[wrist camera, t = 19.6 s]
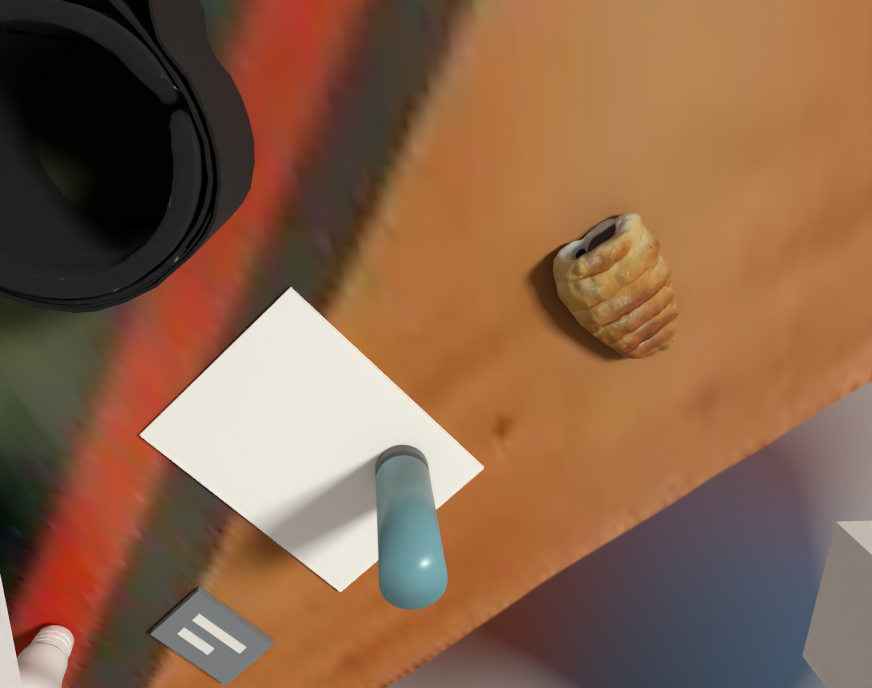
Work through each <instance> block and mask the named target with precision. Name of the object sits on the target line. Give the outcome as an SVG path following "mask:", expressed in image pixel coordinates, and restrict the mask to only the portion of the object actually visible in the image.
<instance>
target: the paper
mask: <svg viewBox="0 0 872 688" xmlns="http://www.w3.org/2000/svg"><path fill="white" fill-rule="evenodd" d="M139 436H141V437H142V438H143V439H145V440H146V441H147V442H148V443H150V444H151V445H152V446H154V447H155V448H156V449H157V450H159V451H160V452H161V453H163V454H164V455H165V456H166V457H168V458H169V459H170V460H172V461H173V462H174V463H175V464H177V465H178V466H179V467H180V468H182V469H183V470H184V471H186V472H187V473H188V474H189V475H191V476H192V477H193V478H195V479H196V480H197V481H198V482H200V483H201V484H202V485H204V486H205V487H206V488H207V489H209V490H210V491H211V492H213V493H214V494H215V495H216V496H218V497H219V498H220V499H221V500H223V501H224V502H225V503H227V504H228V505H229V506H230V507H232V508H233V509H234V510H236V511H237V512H238V513H239V514H241V515H242V516H243V517H245V518H246V519H247V520H248V521H250V522H251V523H252V524H254V525H255V526H256V527H257V528H259V529H260V530H261V531H262V532H264V533H265V534H266V535H268V536H269V537H270V538H271V539H273V540H274V541H275V542H277V543H278V544H279V545H280V546H282V547H283V548H284V549H286V550H287V551H288V552H289V553H291V554H292V555H293V556H295V557H296V558H297V559H298V560H300V561H301V562H302V563H303V564H305V565H306V566H307V567H309V568H310V569H311V570H312V571H314V572H315V573H316V574H318V575H319V576H320V577H321V578H323V579H324V580H325V581H327V582H328V583H329V584H330V585H332V586H333V587H334V588H336V589H337V590H338V591H339V592H342V591H343V590H344V589H345V588H346V587H347V586H348V585H350V584H351V583H352V582H353V581H354V580H355V579H357V578H358V577H359V576H360V575H361V574H362V573H364V572H365V571H366V570H367V569H368V568H369V567H370V566H372V565H373V564H374V563H375V562H376V561H377V560H378V534H377V506H376V477H375V466H376V462H377V460H378V458H379V456H380V455H381V454H382V453H383V452H384V451H385V450H387V449H388V448H390V447H393V446H396V445H409V446H413V447H415V448H417V449H418V450H420V451H421V452H422V453H423V454H424V456H425V457H426V459H427V462H428V467H429V473H430V479H431V485H432V490H433V496H434V502H435V508H436V509H438V508H439V507H440V506H441V505H442V504H443V503H445V502H446V501H447V500H448V499H449V498H450V497H451V496H453V495H454V494H455V493H456V492H457V491H458V490H460V489H461V488H462V487H463V486H464V485H465V484H467V483H468V482H469V481H470V480H471V479H472V478H473V477H475V476H476V475H477V474H478V473H479V472H480V471H482V470H483V469H484V466H483V465H482V464H481V463H479V462H478V461H477V460H476V459H475V458H474V457H473V456H472V455H471V454H470V453H469V452H468V451H467V450H465V449H464V448H463V447H462V446H461V445H460V444H459V443H458V442H457V441H456V440H455V439H454V438H453V437H452V436H450V435H449V434H448V433H447V432H446V431H445V430H444V429H443V428H442V427H441V426H440V425H439V424H438V423H436V422H435V421H434V420H433V419H432V418H431V417H430V416H429V415H428V414H427V413H426V412H425V411H424V410H423V409H421V408H420V407H419V406H418V405H417V404H416V403H415V402H414V401H413V400H412V399H411V398H410V397H409V396H407V395H406V394H405V393H404V392H403V391H402V390H401V389H400V388H399V387H398V386H397V385H396V384H395V383H394V382H392V381H391V380H390V379H389V378H388V377H387V376H386V375H385V374H384V373H383V372H382V371H381V370H380V369H378V368H377V367H376V366H375V365H374V364H373V363H372V362H371V361H370V360H369V359H368V358H367V357H366V356H365V355H363V354H362V353H361V352H360V351H359V350H358V349H357V348H356V347H355V346H354V345H353V344H352V343H351V342H349V341H348V340H347V339H346V338H345V337H344V336H343V335H342V334H341V333H340V332H339V331H338V330H337V329H336V328H334V327H333V326H332V325H331V324H330V323H329V322H328V321H327V320H326V319H325V318H324V317H323V316H322V315H320V314H319V313H318V312H317V311H316V310H315V309H314V308H313V307H312V306H311V305H310V304H309V303H308V302H307V301H305V300H304V299H303V298H302V297H301V296H300V295H299V294H298V293H297V292H296V291H295V290H294V289H293V288H291V287H289V288H288V289H287V290H286V291H285V292H284V293H283V294H282V295H281V296H280V297H279V298H278V299H277V300H276V301H275V302H274V303H273V304H272V305H271V306H270V307H269V308H268V309H267V310H266V311H265V312H264V313H263V314H262V315H261V316H260V317H259V318H258V319H257V320H256V321H255V322H254V323H253V324H252V325H251V326H250V327H249V328H248V329H247V330H245V331H244V332H243V333H242V334H241V335H240V336H239V337H238V338H237V339H236V340H235V341H234V342H233V343H232V344H231V345H230V346H229V347H228V348H227V349H226V350H225V351H224V352H223V353H222V354H221V355H220V356H219V357H218V358H217V359H216V360H215V361H214V362H213V363H212V364H211V365H210V366H209V367H208V368H207V369H206V370H205V371H204V372H203V373H202V374H201V375H200V376H199V377H197V378H196V379H195V380H194V381H193V382H192V383H191V384H190V385H189V386H188V387H187V388H186V389H185V390H184V391H183V392H182V393H181V394H180V395H179V396H178V397H177V398H176V399H175V400H174V401H173V402H172V403H171V404H170V405H169V406H168V407H167V408H166V409H165V410H164V411H163V412H162V413H161V414H160V415H159V416H158V417H157V418H156V419H155V420H154V421H153V422H152V423H151V424H149V425H148V426H147V427H146V428H145V429H144V430H143V431H142V432H141V433H140V435H139Z"/></svg>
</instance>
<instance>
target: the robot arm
mask: <svg viewBox="0 0 872 688" xmlns="http://www.w3.org/2000/svg"><path fill="white" fill-rule="evenodd" d="M803 657H804V658H805V660H806V661H807V662H808V664H809V665H810V666H811V667H812V669H813V670H814V672H815V673H816V674H817V675H818V677H819V678H820V679H821V681H822V682H823V683H824V685H825V686H826V687H827V688H872V521H847V522H836V525H835V529H834V533H833V537H832V541H831V545H830V549H829V553H828V557H827V561H826V564H825V569H824V573H823V576H822V581H821V584H820V589H819V592H818V596H817V600H816V604H815V608H814V612H813V616H812V620H811V625H810V628H809V633H808V637H807V640H806V644H805V648H804V652H803ZM0 688H23V687H22V682H21V677H20V672H19V667H18V662H17V657H16V652H15V647H14V642H13V637H12V632H11V627H10V622H9V617H8V612H7V607H6V602H5V597H4V592H3V587H2V582H1V577H0Z"/></svg>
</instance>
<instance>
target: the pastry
mask: <svg viewBox="0 0 872 688" xmlns="http://www.w3.org/2000/svg"><path fill="white" fill-rule="evenodd" d="M553 274H554V279H555V282H556V288H557V294H558V296H559V298H560V300H561V301H562V302H563V303H564V304H565V305H566V306H567V307H568V309H569V310H570V312H571V313H572V314H573V315H574V317H575V318H576V320H577V321H578V323H579V324H580V325H581V326H582V327H584V328H585V329H586V330H587V331H588V332H590V333H591V334H592V335H593V336H595V337H596V338H598V339H599V340H600V341H602V342H603V343H604V344H606V345H608V346H610V347H611V348H612V349H614V350H615V351H617V352H618V353H619V354H620V355H621V356H624V357H627V358H632V359H637V358H645V357H648V356H651V355H653V354H655V353H657V352H659V351H664V350H666V349H668V348H669V347H670V346H671V344H672V342H673V337H674V335H675V334H676V332H677V320H676V316H677V315H678V304H677V303H676V298H675V288H674V286H673V284H672V282H671V270H670V265H669V264H668V263H667V261H666V260H665V259H663V258H662V255H661V253H660V245H659V243H658V241H657V239H656V238H655V237H654V236H653V235H652V234H651V233H650V232H648V230H647V229H646V228H645V226H644V225H643V223H642V221H641V217H640V216H639V215H638V214H636V213H632V212H625V213H624V214H622V215H621V216H618V217H617V218H615V219H608V220H606V221H604V222H602V223H600V224H599V225H597V226H596V227H595V228H594V229H593V230H592V231H590V232H589V233H588V234H587V235H586V236H585V237H584V238H583V239H581V240H578V241H574V242H571V243H569V244H568V245H567V246H565V247H564V248H562V249H561V250H560V251H559V252H558V254H557V256H556V257H555V259H554V263H553Z"/></svg>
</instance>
